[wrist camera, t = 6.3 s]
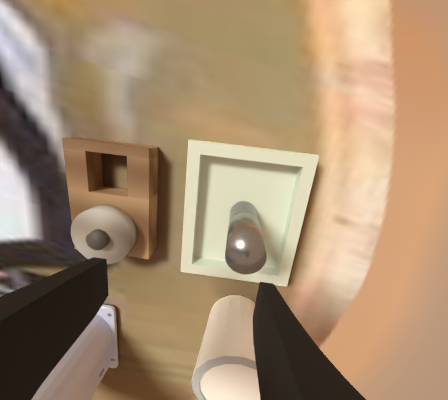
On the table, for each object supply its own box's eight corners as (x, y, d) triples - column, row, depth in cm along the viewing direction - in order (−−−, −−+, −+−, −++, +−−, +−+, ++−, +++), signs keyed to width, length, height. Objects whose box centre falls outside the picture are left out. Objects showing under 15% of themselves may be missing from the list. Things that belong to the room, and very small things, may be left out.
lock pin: (254, 227, 19) (263, 276, 12) (228, 224, 19) (223, 272, 12) (258, 202, 18) (269, 240, 12) (231, 199, 18) (226, 235, 12)
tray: (282, 274, 21) (286, 286, 19) (185, 260, 21) (180, 271, 19) (311, 153, 17) (319, 155, 16) (193, 139, 18) (188, 139, 16)
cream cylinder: (209, 284, 22) (196, 350, 15) (273, 296, 22) (288, 367, 15) (201, 333, 24) (187, 409, 17) (260, 344, 24) (268, 425, 17)
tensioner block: (156, 249, 21) (138, 273, 17) (89, 239, 21) (57, 262, 17) (158, 147, 18) (137, 150, 14) (80, 137, 18) (38, 137, 14)
